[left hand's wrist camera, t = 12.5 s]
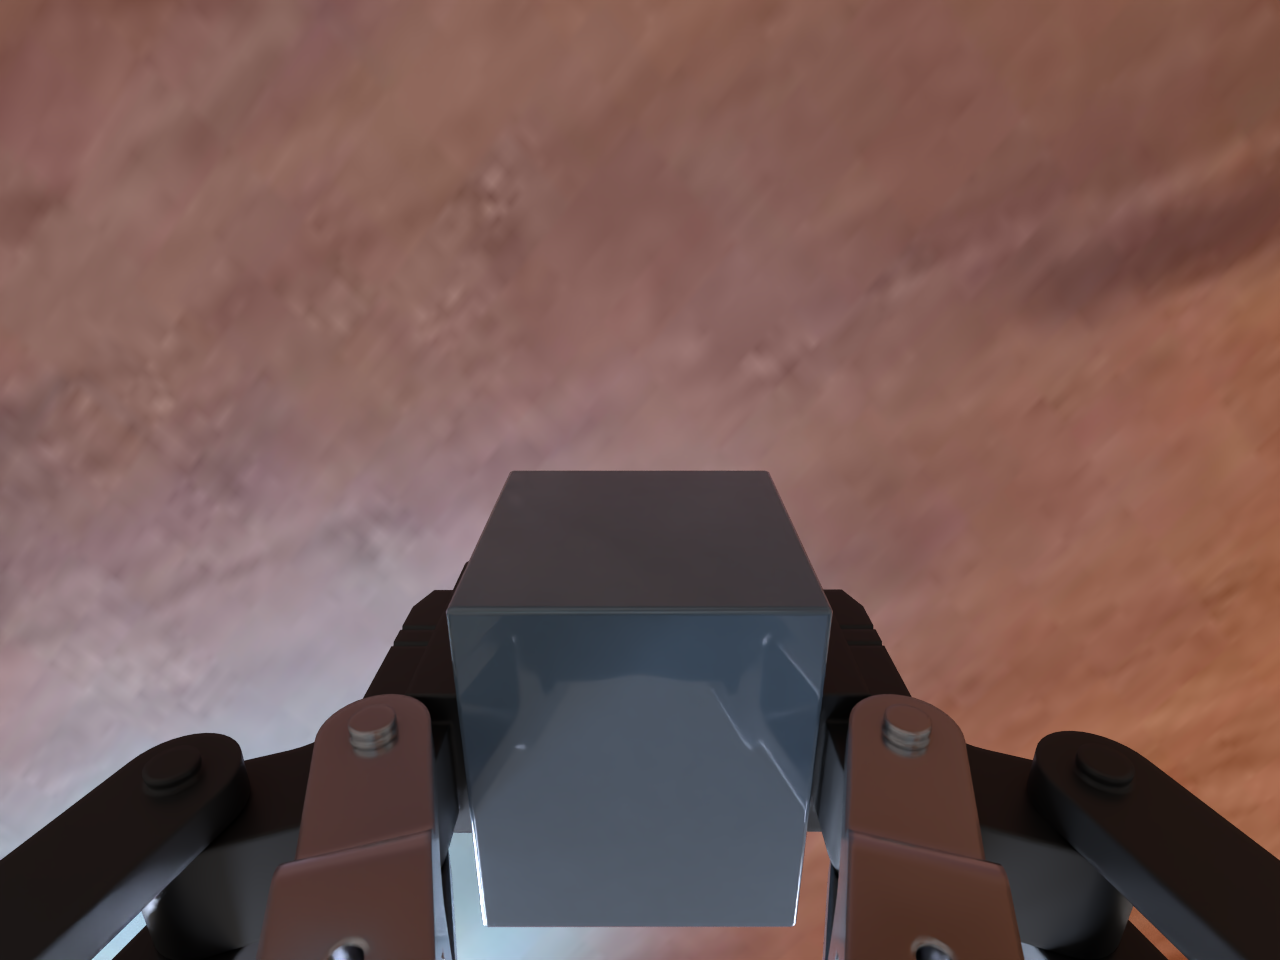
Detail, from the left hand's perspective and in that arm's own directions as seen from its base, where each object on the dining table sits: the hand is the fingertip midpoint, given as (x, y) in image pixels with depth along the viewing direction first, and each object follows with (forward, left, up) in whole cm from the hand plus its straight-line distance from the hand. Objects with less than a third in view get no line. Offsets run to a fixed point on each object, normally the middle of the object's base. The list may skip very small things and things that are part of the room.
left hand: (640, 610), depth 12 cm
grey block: (0, 0, 0) cm, 0 cm away
